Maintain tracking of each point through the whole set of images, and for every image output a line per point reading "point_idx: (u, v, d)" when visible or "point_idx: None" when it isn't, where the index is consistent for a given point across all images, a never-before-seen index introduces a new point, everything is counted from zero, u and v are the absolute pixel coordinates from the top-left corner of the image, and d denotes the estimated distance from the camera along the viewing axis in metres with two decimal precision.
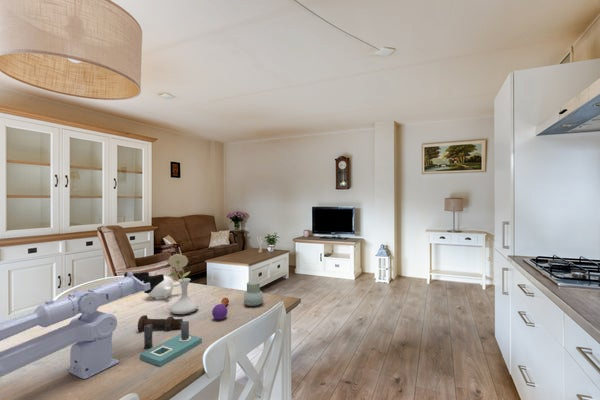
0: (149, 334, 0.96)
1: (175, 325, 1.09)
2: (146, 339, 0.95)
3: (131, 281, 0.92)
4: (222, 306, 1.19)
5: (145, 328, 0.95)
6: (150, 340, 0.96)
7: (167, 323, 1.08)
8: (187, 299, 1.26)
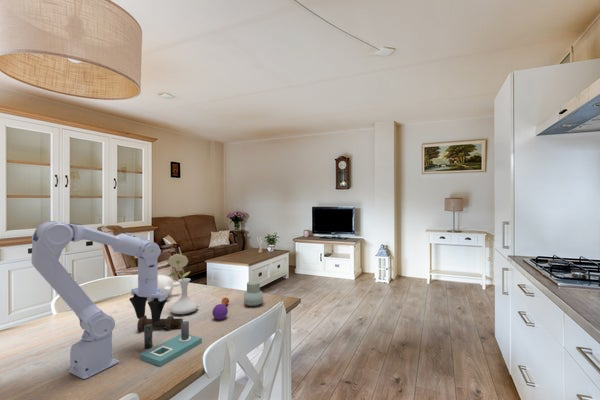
0: (149, 334, 0.96)
1: (175, 324, 1.10)
2: (146, 339, 0.95)
3: (157, 288, 0.97)
4: (222, 306, 1.19)
5: (145, 328, 0.95)
6: (150, 340, 0.96)
7: (167, 323, 1.09)
8: (187, 299, 1.26)
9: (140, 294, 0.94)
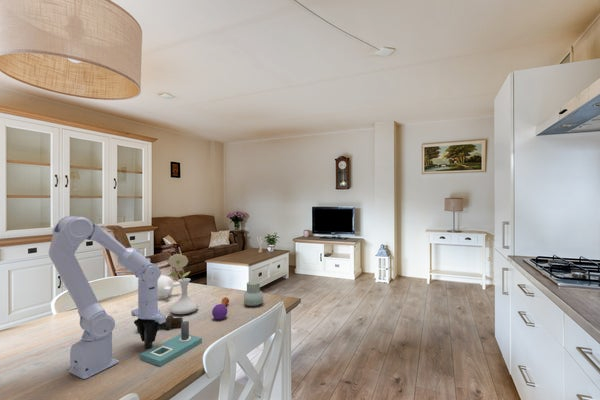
0: None
1: (176, 323, 1.10)
2: (146, 339, 0.95)
3: (157, 309, 0.97)
4: (222, 306, 1.19)
5: None
6: None
7: (168, 322, 1.09)
8: (187, 299, 1.26)
9: (140, 316, 0.94)
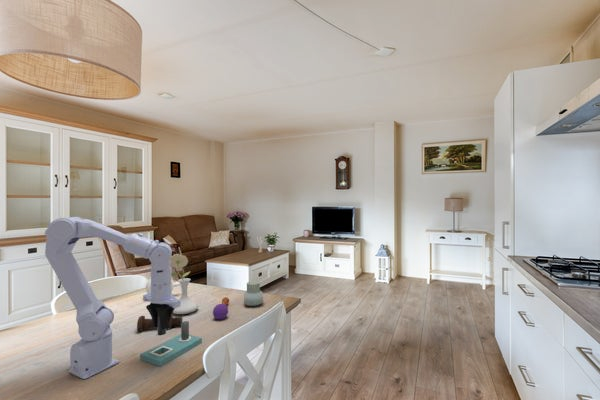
0: None
1: (176, 323, 1.11)
2: (159, 325, 0.90)
3: (171, 294, 0.91)
4: (223, 306, 1.19)
5: None
6: None
7: None
8: (187, 299, 1.26)
9: (153, 300, 0.88)
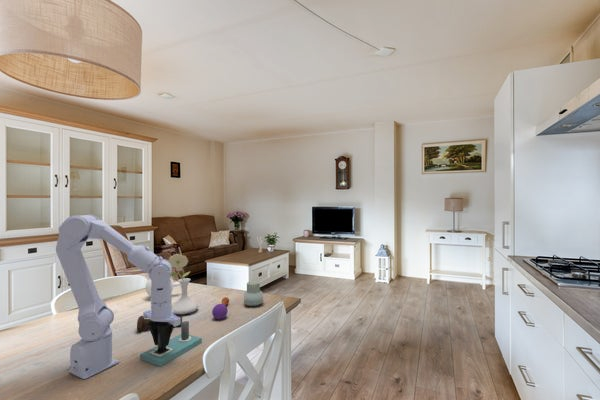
0: None
1: None
2: (160, 343, 0.90)
3: (171, 311, 0.91)
4: (222, 306, 1.19)
5: None
6: None
7: None
8: (187, 299, 1.26)
9: (153, 318, 0.88)
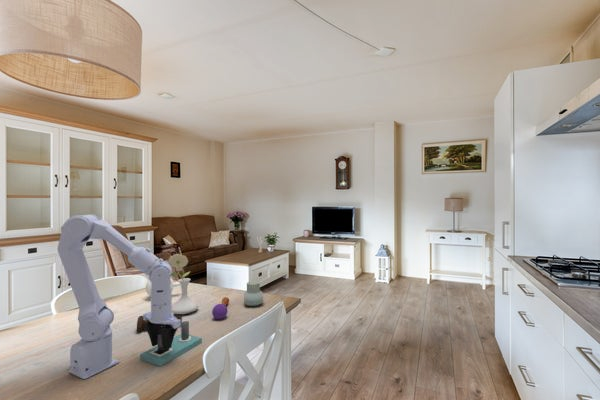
0: None
1: None
2: (160, 348, 0.90)
3: (171, 313, 0.91)
4: (222, 306, 1.19)
5: (159, 336, 0.90)
6: None
7: None
8: (187, 299, 1.26)
9: (153, 320, 0.88)
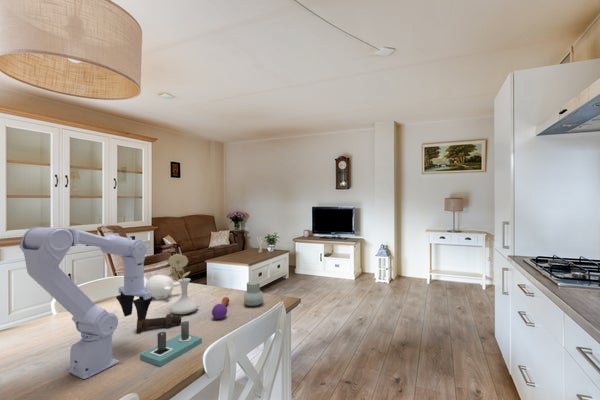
0: (163, 342, 0.90)
1: (176, 321, 1.12)
2: (160, 348, 0.90)
3: (143, 286, 0.98)
4: (222, 306, 1.19)
5: (159, 336, 0.90)
6: (164, 349, 0.90)
7: (168, 320, 1.11)
8: (187, 299, 1.26)
9: (126, 292, 0.94)
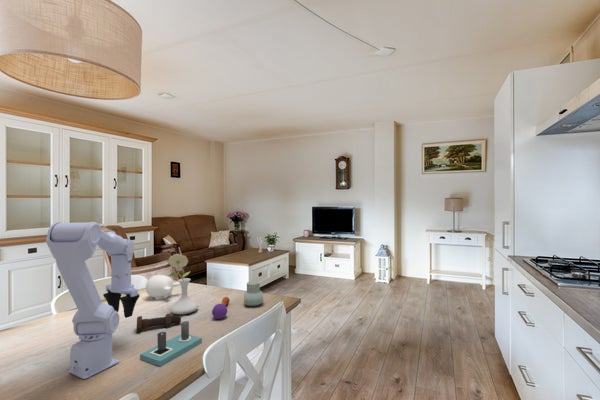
0: (163, 342, 0.90)
1: (175, 321, 1.13)
2: (160, 348, 0.90)
3: (130, 284, 1.00)
4: (222, 305, 1.19)
5: (159, 336, 0.90)
6: (164, 349, 0.90)
7: (168, 320, 1.11)
8: (187, 299, 1.26)
9: (113, 290, 0.97)
